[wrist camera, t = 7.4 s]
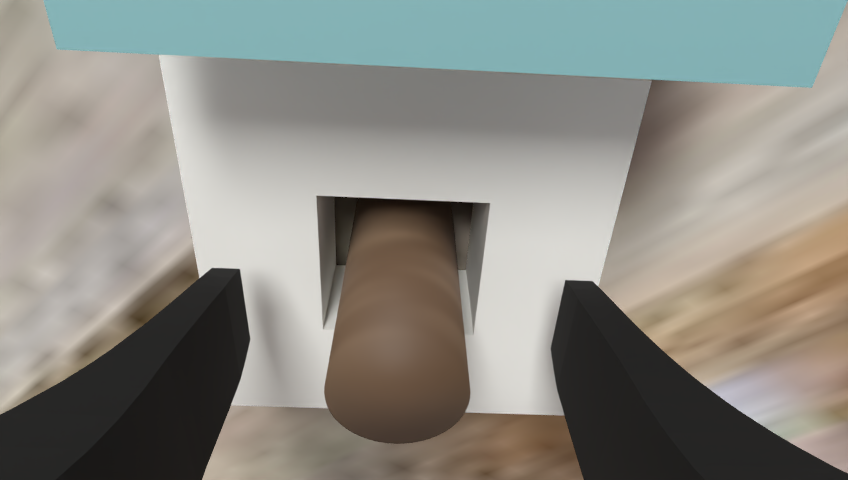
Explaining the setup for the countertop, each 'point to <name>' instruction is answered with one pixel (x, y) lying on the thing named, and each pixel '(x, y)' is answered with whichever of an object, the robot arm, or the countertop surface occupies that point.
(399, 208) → the peg
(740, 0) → the awning
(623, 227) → the countertop surface
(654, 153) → the countertop surface
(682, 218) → the countertop surface
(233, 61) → the socket block
